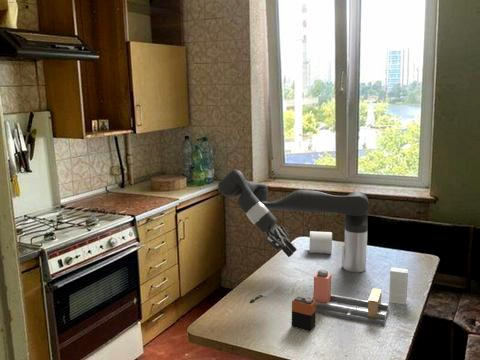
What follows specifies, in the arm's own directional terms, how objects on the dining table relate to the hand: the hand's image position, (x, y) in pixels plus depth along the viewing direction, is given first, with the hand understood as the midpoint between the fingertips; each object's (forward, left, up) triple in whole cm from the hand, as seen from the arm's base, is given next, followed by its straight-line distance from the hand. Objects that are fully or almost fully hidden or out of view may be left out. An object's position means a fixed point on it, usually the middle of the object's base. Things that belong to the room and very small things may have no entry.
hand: (292, 253), depth 166 cm
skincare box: (+23, +30, -18) cm, 42 cm away
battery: (+16, -10, -18) cm, 26 cm away
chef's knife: (-10, -4, -19) cm, 21 cm away
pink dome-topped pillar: (+10, +6, -16) cm, 20 cm away
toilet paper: (-30, +45, -18) cm, 57 cm away
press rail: (+17, +10, -18) cm, 27 cm away
